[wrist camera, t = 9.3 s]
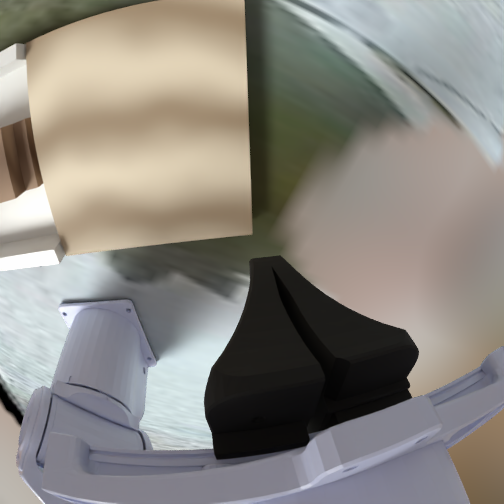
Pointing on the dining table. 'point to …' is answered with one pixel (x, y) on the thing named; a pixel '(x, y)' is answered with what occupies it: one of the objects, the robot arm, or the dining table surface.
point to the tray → (31, 201)
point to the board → (144, 125)
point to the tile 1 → (9, 166)
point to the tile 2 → (27, 154)
